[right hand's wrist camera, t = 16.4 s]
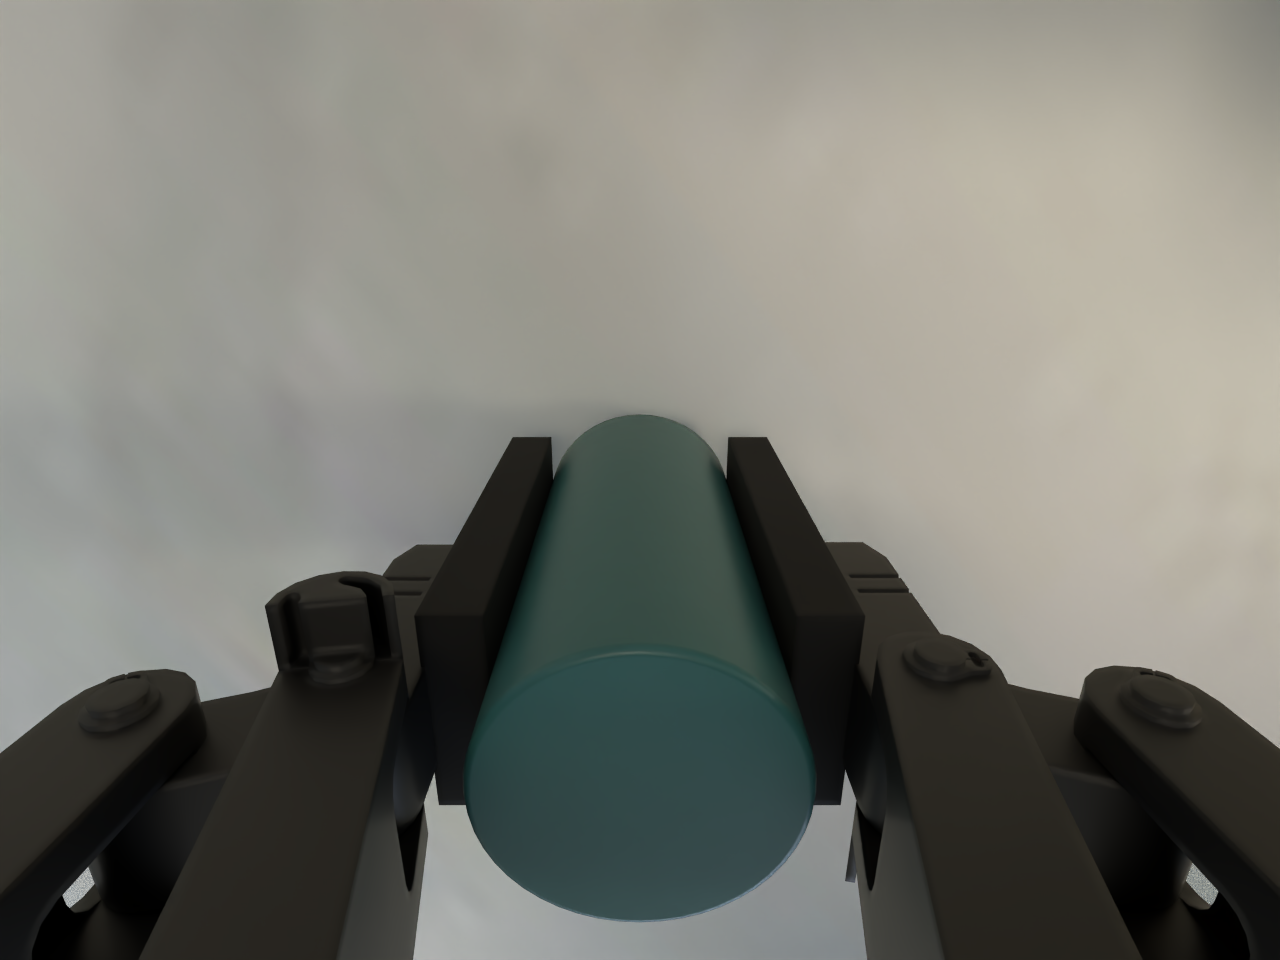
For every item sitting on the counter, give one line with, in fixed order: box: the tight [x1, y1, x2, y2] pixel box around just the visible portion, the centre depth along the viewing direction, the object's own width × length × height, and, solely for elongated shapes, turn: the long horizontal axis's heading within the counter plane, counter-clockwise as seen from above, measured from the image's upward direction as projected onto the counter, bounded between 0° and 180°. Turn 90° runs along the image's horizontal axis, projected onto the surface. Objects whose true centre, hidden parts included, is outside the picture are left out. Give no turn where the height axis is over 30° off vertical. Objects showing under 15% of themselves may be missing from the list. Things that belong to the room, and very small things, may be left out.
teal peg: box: [463, 415, 817, 922], centre depth 11 cm, size 4×4×8 cm
